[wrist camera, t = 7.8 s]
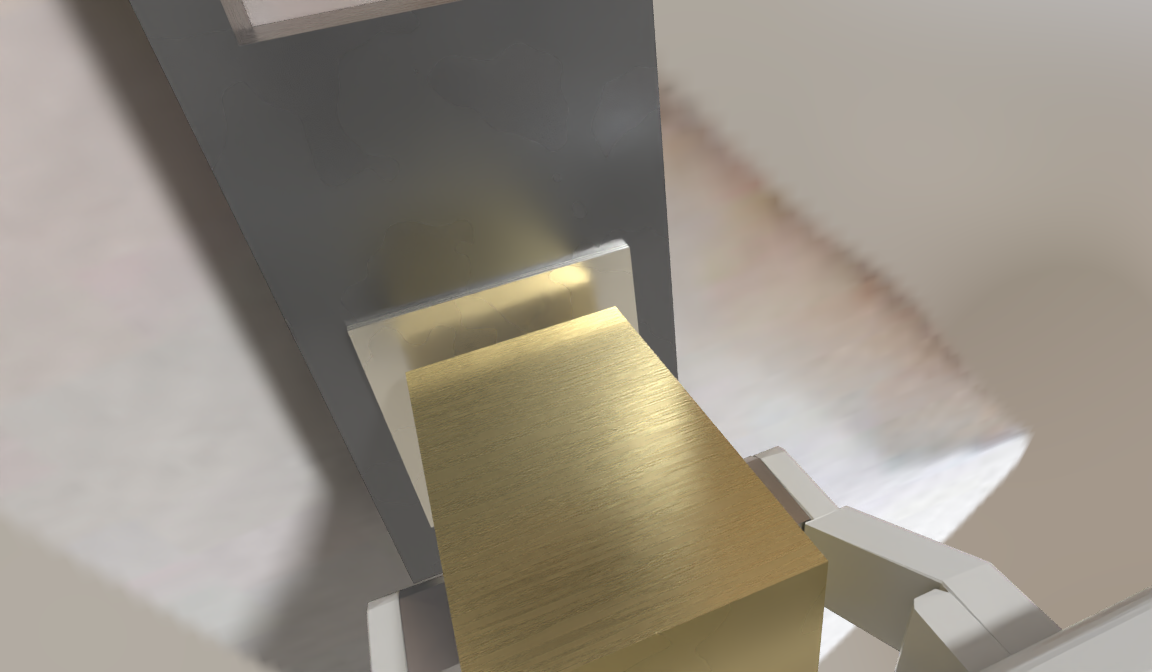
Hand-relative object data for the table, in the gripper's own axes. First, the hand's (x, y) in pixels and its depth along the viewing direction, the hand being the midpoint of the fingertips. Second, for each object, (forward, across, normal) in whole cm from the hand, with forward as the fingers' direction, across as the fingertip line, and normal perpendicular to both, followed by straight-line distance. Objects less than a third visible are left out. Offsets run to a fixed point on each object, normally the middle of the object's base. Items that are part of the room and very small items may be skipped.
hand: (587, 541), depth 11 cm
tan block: (+4, 0, 0) cm, 4 cm away
